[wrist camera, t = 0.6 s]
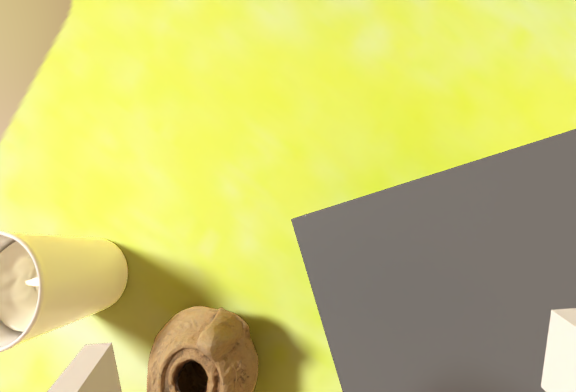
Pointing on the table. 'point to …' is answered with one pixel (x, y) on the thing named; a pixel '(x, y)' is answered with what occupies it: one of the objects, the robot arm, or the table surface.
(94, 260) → the candle holder
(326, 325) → the cabinet with door
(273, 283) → the table surface
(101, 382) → the robot arm
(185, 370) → the oil lamp
